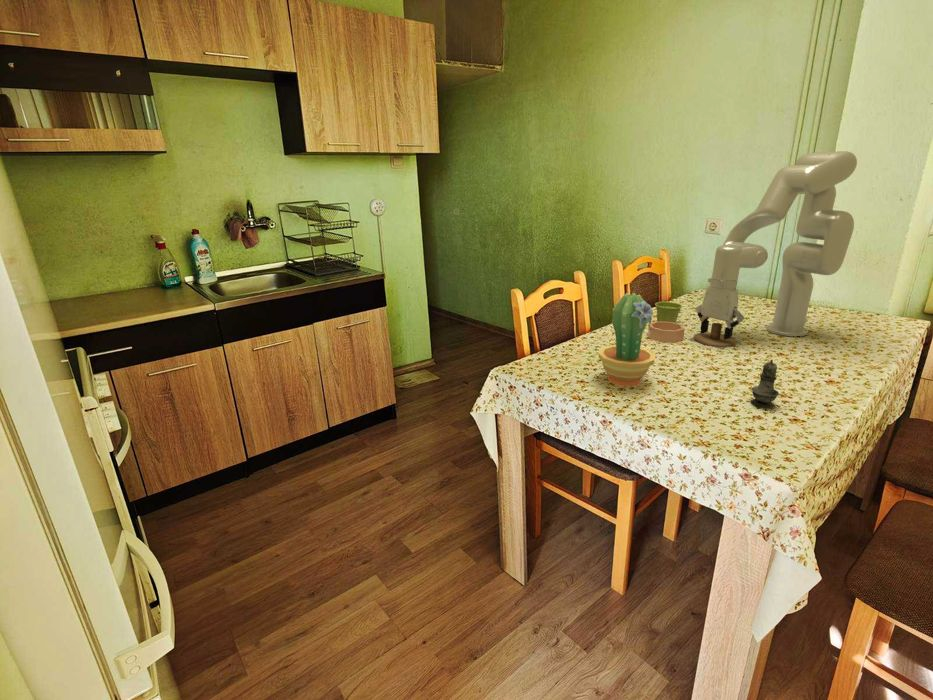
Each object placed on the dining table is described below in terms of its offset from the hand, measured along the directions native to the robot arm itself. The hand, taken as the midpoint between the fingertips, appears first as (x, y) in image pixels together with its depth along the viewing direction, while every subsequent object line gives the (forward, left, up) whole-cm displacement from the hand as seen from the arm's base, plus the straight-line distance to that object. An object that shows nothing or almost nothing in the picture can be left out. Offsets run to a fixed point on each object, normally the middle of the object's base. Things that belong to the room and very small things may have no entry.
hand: (715, 335), depth 163 cm
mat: (0, 0, -3) cm, 3 cm away
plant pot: (-3, -21, -3) cm, 21 cm away
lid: (0, 0, -2) cm, 2 cm away
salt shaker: (+33, +33, -3) cm, 47 cm away
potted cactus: (+49, +3, -3) cm, 49 cm away
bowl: (+10, -12, -3) cm, 16 cm away
